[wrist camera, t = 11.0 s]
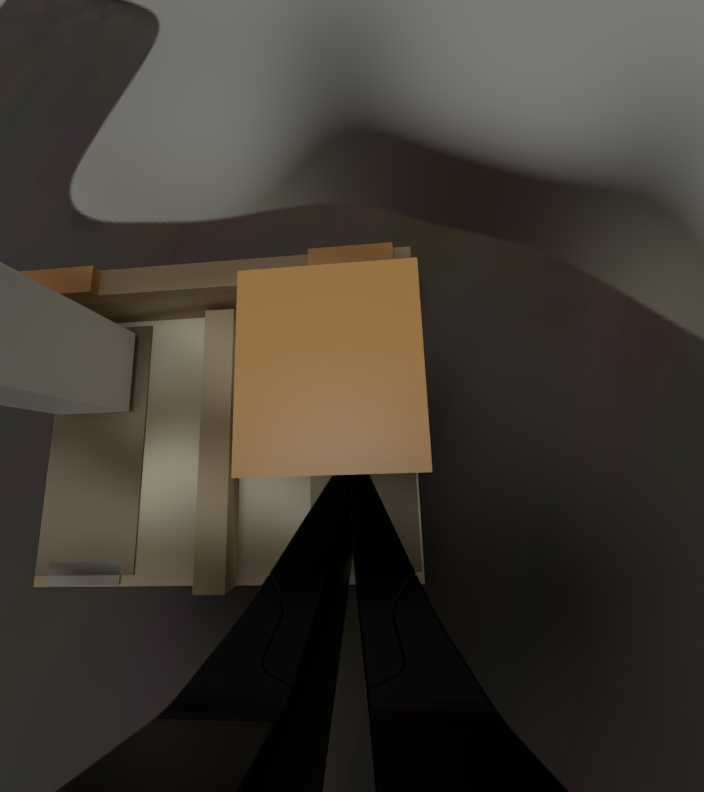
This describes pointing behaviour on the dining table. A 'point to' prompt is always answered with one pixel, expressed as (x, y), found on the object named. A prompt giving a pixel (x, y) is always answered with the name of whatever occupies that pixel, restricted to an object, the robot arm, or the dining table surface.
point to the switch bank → (180, 444)
